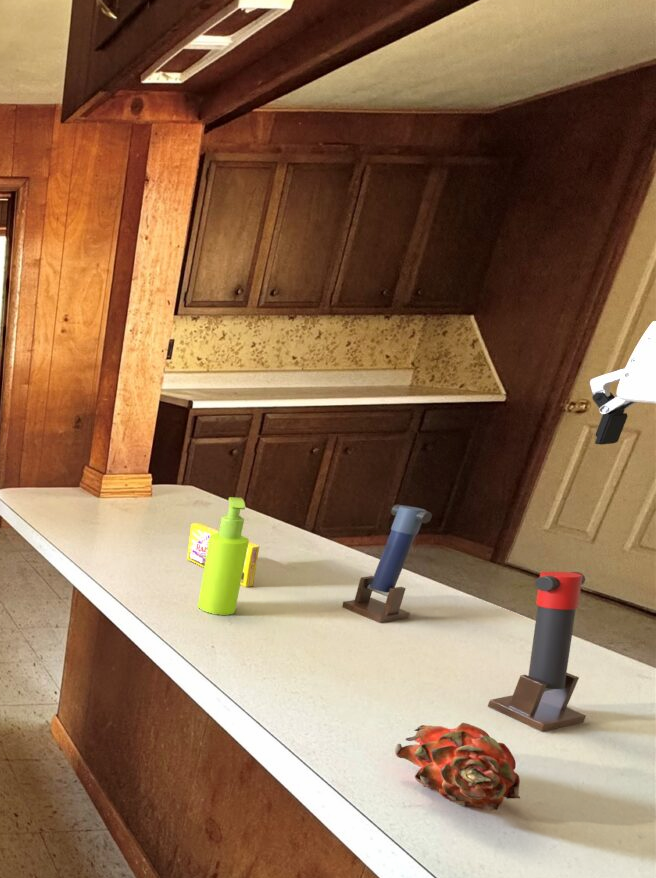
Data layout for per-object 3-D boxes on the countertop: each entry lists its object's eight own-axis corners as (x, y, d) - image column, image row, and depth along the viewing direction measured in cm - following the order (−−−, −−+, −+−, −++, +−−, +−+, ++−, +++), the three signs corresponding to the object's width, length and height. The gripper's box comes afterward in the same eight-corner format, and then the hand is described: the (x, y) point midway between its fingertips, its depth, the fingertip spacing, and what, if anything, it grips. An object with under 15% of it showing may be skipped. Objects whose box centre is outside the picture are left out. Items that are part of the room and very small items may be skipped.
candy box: (184, 560, 140) (190, 523, 137) (193, 559, 140) (199, 522, 137) (244, 587, 125) (252, 546, 122) (253, 586, 126) (262, 545, 122)
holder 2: (487, 706, 86) (500, 669, 84) (527, 697, 87) (542, 661, 85) (541, 731, 80) (557, 692, 78) (583, 722, 82) (600, 683, 80)
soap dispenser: (199, 615, 114) (218, 503, 107) (196, 600, 120) (215, 493, 113) (237, 619, 112) (260, 505, 105) (232, 604, 118) (254, 495, 111)
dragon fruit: (477, 846, 66) (404, 784, 77) (570, 808, 63) (480, 750, 75) (433, 779, 65) (366, 726, 77) (526, 738, 63) (442, 690, 74)
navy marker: (405, 504, 110) (389, 503, 109) (437, 512, 105) (421, 511, 104) (372, 588, 115) (357, 588, 114) (402, 599, 110) (386, 599, 109)
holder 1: (369, 602, 117) (377, 573, 115) (408, 618, 111) (417, 587, 109) (341, 606, 116) (349, 577, 114) (379, 622, 109) (388, 592, 107)
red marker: (527, 574, 81) (563, 579, 77) (559, 569, 82) (595, 574, 78) (512, 689, 84) (546, 698, 80) (543, 682, 85) (578, 692, 81)
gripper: (844, 304, 73) (770, 459, 79) (639, 309, 89) (591, 437, 95) (798, 307, 71) (726, 464, 78) (598, 311, 87) (552, 441, 93)
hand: (652, 449), depth 86 cm, fingers open, 9 cm apart
